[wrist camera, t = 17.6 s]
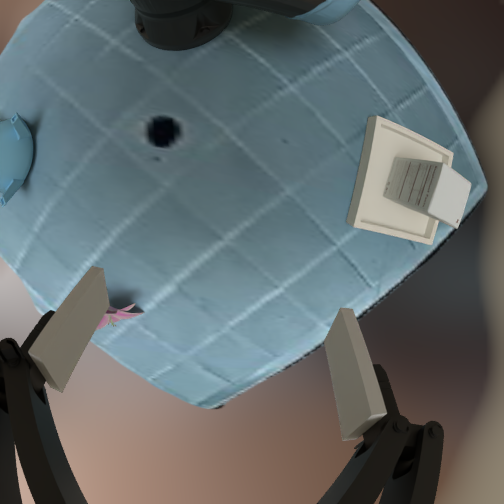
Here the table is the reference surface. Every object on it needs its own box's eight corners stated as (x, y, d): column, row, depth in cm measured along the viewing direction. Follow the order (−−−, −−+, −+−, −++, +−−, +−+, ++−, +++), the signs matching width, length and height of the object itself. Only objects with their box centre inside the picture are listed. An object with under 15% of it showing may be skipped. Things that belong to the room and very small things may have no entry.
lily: (90, 313, 46) (92, 354, 40) (68, 273, 38) (65, 319, 32) (144, 302, 50) (151, 344, 44) (131, 260, 42) (136, 306, 36)
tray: (368, 117, 37) (377, 115, 34) (443, 151, 39) (453, 153, 36) (346, 222, 43) (353, 226, 40) (422, 240, 45) (431, 245, 42)
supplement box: (423, 172, 39) (473, 184, 27) (411, 210, 42) (458, 231, 30) (394, 155, 38) (444, 160, 26) (380, 195, 40) (427, 213, 29)
